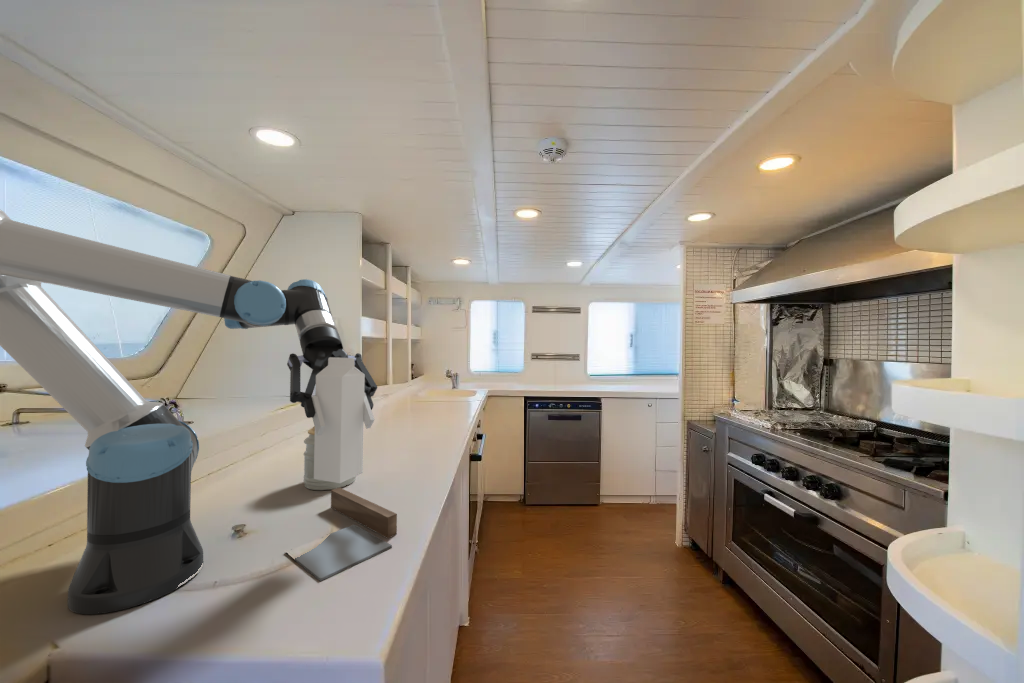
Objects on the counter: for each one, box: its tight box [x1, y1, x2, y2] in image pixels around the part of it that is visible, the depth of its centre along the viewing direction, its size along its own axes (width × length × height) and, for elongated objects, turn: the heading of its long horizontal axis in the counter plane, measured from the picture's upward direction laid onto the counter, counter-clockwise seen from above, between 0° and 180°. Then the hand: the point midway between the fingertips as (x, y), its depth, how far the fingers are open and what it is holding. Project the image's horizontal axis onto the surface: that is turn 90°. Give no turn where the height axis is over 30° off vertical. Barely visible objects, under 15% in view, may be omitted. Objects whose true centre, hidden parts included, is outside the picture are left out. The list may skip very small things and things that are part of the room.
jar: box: [303, 426, 357, 491], centre depth 104 cm, size 13×13×18 cm
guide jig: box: [294, 487, 398, 582], centre depth 75 cm, size 16×26×4 cm, turn 52°
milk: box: [314, 357, 365, 483], centre depth 72 cm, size 6×6×22 cm
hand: (346, 427), depth 70 cm, fingers closed on milk, 8 cm apart
